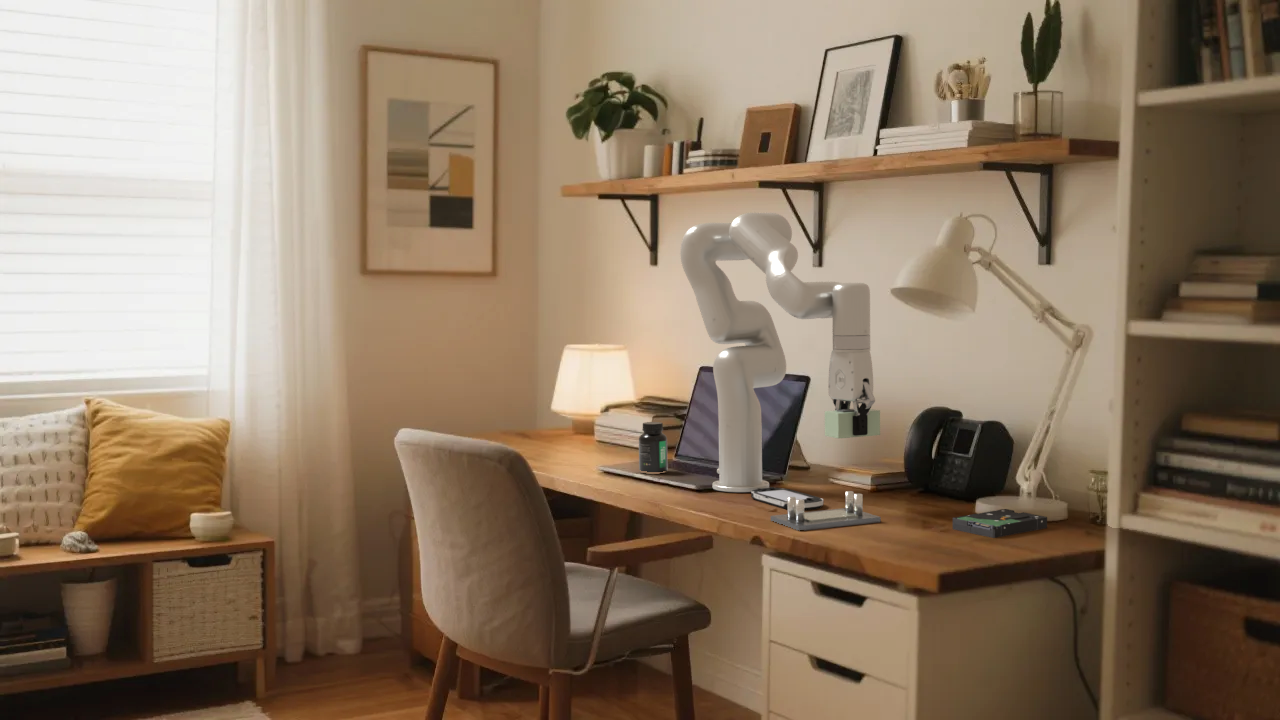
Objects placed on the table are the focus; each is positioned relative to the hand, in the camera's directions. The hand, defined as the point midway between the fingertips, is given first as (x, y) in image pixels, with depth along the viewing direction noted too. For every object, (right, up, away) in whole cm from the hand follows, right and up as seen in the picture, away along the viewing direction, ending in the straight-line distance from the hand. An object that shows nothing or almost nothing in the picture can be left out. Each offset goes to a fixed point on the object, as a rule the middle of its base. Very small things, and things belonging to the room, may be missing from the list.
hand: (852, 432), depth 271 cm
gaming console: (-12, -16, +8) cm, 22 cm away
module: (0, -1, 0) cm, 1 cm away
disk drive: (+24, -17, -21) cm, 37 cm away
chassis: (-7, -17, -12) cm, 22 cm away
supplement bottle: (-40, -13, +51) cm, 66 cm away
